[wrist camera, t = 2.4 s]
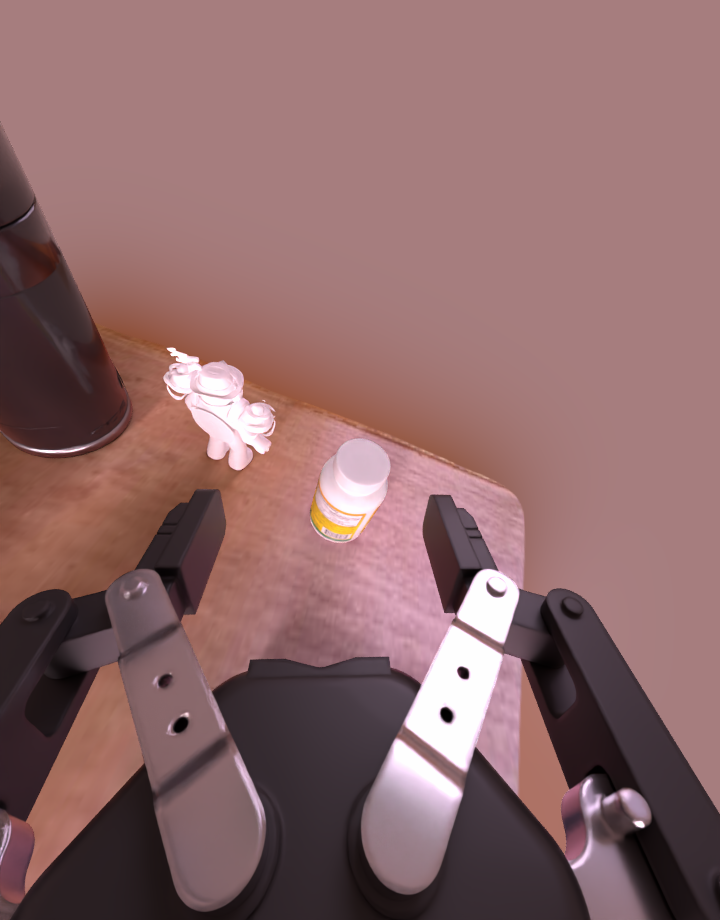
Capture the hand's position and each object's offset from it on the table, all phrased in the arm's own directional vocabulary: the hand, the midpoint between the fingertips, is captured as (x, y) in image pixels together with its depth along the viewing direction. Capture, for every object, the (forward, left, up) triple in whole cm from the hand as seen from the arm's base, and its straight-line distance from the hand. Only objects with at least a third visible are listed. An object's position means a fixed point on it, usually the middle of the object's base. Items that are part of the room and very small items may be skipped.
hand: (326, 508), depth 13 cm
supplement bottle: (+1, +8, -17) cm, 19 cm away
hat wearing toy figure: (-11, +10, -17) cm, 22 cm away
